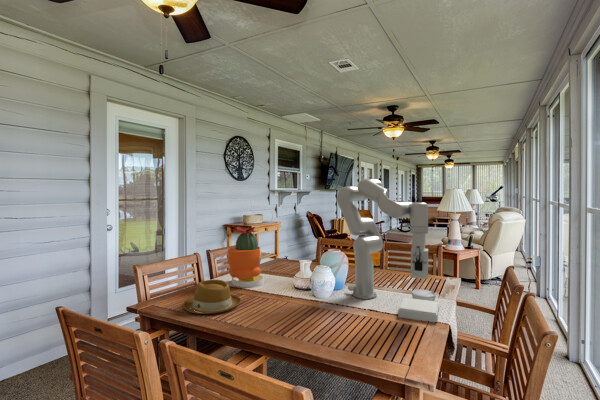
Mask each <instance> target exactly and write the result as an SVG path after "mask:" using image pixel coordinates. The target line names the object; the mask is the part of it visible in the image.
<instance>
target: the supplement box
mask: <svg viewBox="0 0 600 400" xmlns="http://www.w3.org/2000/svg"><path fill="white" fill-rule="evenodd" d="M415 253H416V252H415ZM419 255H421V252H419ZM410 278H411V279H422V280H428V278H429V248H425V250H424V254H423V256H422V271H415V255H412V247H411V249H410Z"/></svg>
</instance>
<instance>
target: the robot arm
mask: <svg viewBox="0 0 600 400" xmlns="http://www.w3.org/2000/svg"><path fill="white" fill-rule="evenodd" d="M368 199H369V200H371V201H372V202H374V203H376V206H377V207H378V208H379V210H380V211H381V212H383V213H384V214H385V215H387V216H389V217H390V218H393V219H404V218H405V219H406V218H409V220H410V223H409V224H410V230H409V232H410V234H412V239H411V240H412V241H411V248H412V255H415V271H422V256H423V254H424V250H425V249H426V234H429V205H428V204H427V203H426V202H423V201H422V202H417V201H416V202H413V201H396V200H393V199H391V198H389V190H388V189H387V188H386V187H384V185H383V183H382V181H381V180H379V179H377V178H364V179H361V180H360V181H359V182H358V183H357V185H347V186H343V187H341V188H339V190H338V192H337V194H336V203H337V205H338V207H339V210H340V211H341V212H342V213H341V214H342V215H343V217H344V220H345V223H346V225H347V227H348V230H349V233H350V234H351V235H352V236H356V237H357V236H359V237H357V238H356V239H355V240H354V241H353V245H352V247H353V249H352V250H353V253H354V267H355V268H354V269H355V270H354V271H355V272H354V273H355V274H354V276H355V278H354V279H355V281H354V282H355V283H354V285H353V286H352V285H348V286H347V289H348V291H351V292H352V296H353V297H355V298H357V299H360V300H361V299H362V300H373V299H375V298H377V297H378V296H377V292H375V290H374V288H375V286H374V282H375V281H374V279H375V278H374V260H373V257H372V255H371V254H374V253H375V254H376V253H378V252H381V251H382V249H383V247H384V242H383V241H384V240H383V238H382V236H381V234H380V231H379V229H378V226H377V224H376V223H375V221H374V219H373V218H371V217H367V216H366V217H365V216H364V217H362V216H361V214H360V211H359V209H358V208H357V206H356V205H354V203H353V202H363V201H366V200H368ZM415 252H416V253H415ZM419 252H421V255H419Z"/></svg>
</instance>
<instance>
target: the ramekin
mask: <svg viewBox="0 0 600 400" xmlns="http://www.w3.org/2000/svg"><path fill="white" fill-rule="evenodd" d="M436 295H437V294H436V293H435V292H434V291H432V290H428V289H413V290H412V291H411V296H412V297H411V298H412V299H420V300H428V301H435V300H436Z"/></svg>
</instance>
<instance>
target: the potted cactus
mask: <svg viewBox="0 0 600 400" xmlns="http://www.w3.org/2000/svg"><path fill="white" fill-rule="evenodd" d="M255 229H256V226H252V227H247V228H244V227H242V226H237V227H236V230H235V231H234V234H237V237H236V240H235V241H236V242H235V244H234V245H235V246H232V247H230V248H228V249H227V253H226V254H227V257H226V258H227V263H228V265H229V270H228V273H229V275H230V277H231V284H232V285H233V286H235V285H236V287H239V286H240V288H257V287H261V286H263V285H264V283H265V281H264V279H265V278H264V276H263V275H261V273H262V269H261V268H260V264H261V261H262V249H261V247H260V246H259V241H258V239H257V236H256V235H255V232H259V231H260V229H259V230H255Z"/></svg>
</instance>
